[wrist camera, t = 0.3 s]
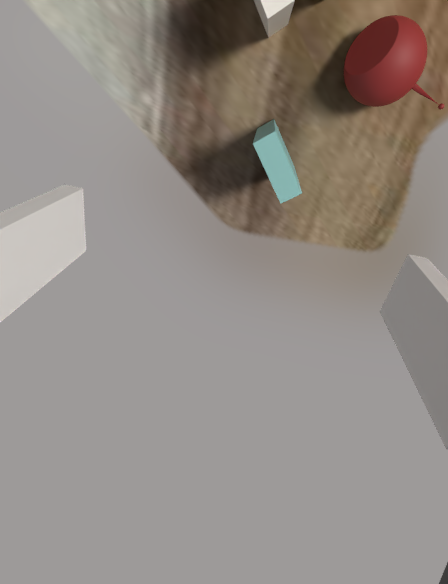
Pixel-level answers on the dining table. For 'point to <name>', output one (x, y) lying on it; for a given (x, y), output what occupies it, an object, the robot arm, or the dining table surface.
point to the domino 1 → (274, 14)
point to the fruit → (386, 61)
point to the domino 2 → (276, 161)
